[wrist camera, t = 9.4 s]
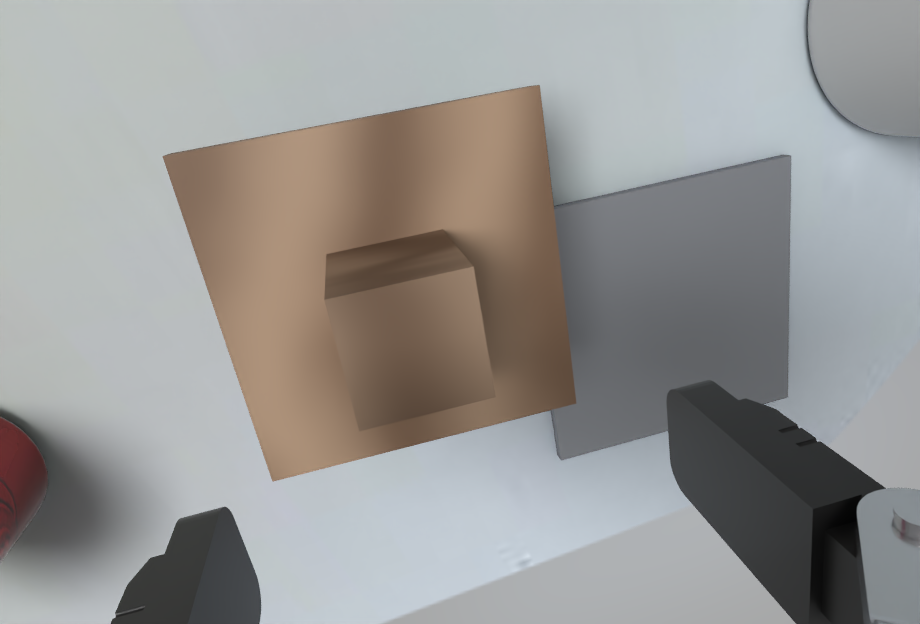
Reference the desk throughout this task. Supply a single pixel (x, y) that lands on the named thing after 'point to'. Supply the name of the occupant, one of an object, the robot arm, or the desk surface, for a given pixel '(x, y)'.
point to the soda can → (18, 483)
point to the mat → (673, 298)
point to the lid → (384, 276)
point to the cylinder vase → (869, 61)
